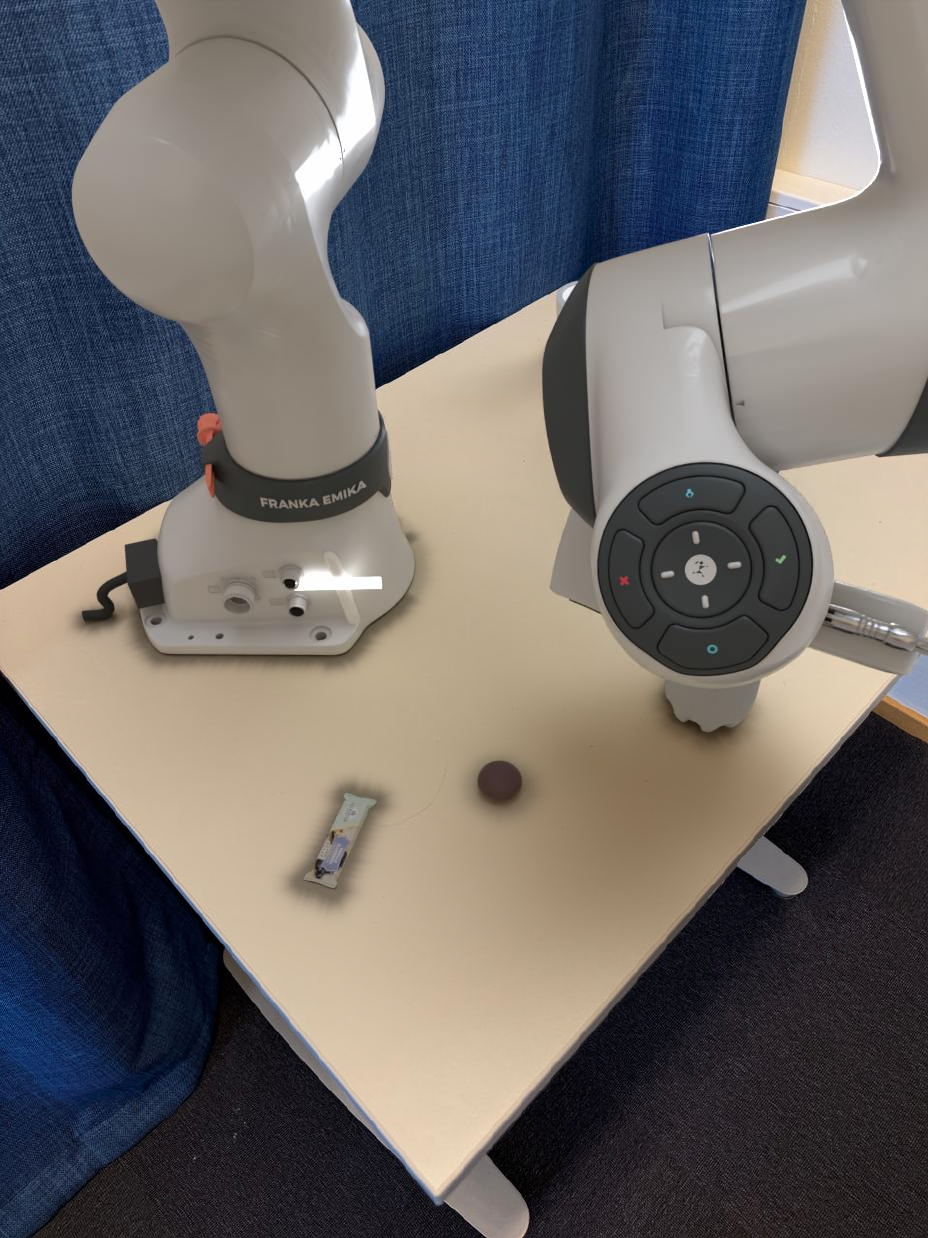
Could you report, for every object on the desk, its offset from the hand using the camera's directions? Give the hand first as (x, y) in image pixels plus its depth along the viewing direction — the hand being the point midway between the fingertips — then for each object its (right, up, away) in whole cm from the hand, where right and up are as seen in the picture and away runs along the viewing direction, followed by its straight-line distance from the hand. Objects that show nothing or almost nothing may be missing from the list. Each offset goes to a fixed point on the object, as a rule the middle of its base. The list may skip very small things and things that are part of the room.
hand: (739, 590), depth 57 cm
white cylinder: (-5, +26, +39) cm, 47 cm away
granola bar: (-26, -17, +2) cm, 31 cm away
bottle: (0, -8, +8) cm, 12 cm away
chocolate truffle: (-15, -13, +4) cm, 21 cm away
